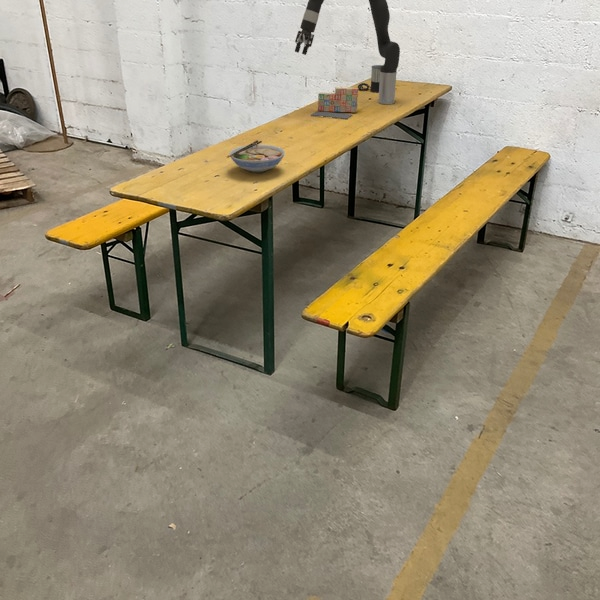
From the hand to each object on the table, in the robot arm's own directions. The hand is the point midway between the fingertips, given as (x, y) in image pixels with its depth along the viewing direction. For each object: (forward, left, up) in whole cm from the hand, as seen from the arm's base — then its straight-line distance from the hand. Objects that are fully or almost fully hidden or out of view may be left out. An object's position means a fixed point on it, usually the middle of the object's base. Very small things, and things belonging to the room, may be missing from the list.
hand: (300, 53), depth 324 cm
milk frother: (-71, +18, -31) cm, 80 cm away
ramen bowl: (+95, +21, -31) cm, 102 cm away
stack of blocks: (-11, +18, -31) cm, 37 cm away
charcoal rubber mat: (-2, +18, -31) cm, 36 cm away
